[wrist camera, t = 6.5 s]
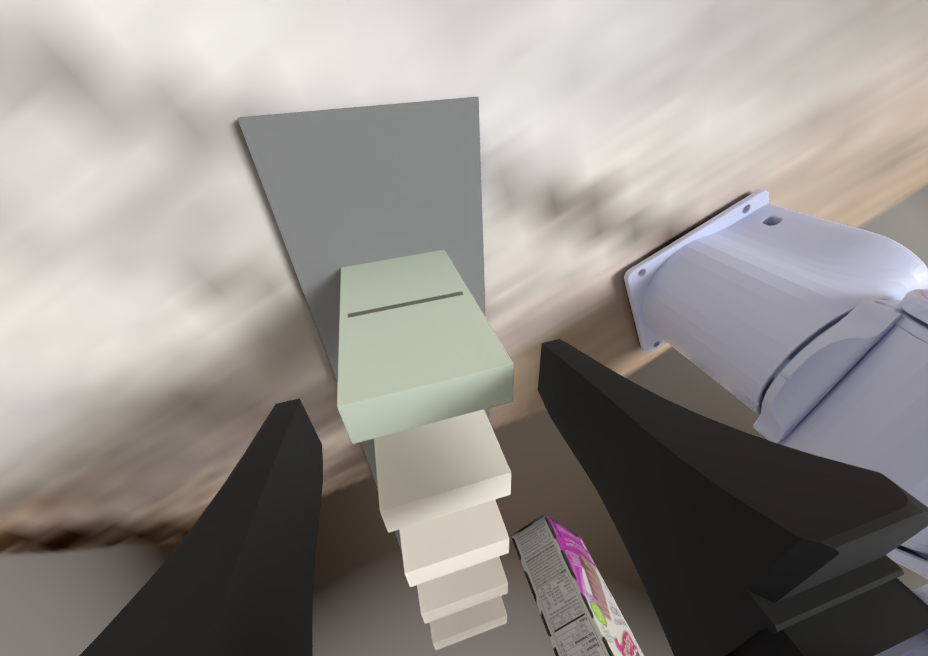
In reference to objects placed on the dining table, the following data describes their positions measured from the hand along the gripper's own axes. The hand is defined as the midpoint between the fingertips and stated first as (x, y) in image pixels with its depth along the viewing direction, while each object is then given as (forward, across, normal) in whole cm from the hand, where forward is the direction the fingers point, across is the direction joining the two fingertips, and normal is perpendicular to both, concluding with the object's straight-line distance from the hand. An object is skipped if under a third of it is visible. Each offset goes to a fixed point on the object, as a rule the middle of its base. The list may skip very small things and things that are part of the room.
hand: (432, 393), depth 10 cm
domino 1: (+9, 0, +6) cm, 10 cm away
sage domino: (+9, 0, 0) cm, 9 cm away
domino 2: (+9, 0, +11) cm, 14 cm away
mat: (+9, 0, +11) cm, 14 cm away
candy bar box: (+9, -11, +36) cm, 39 cm away
